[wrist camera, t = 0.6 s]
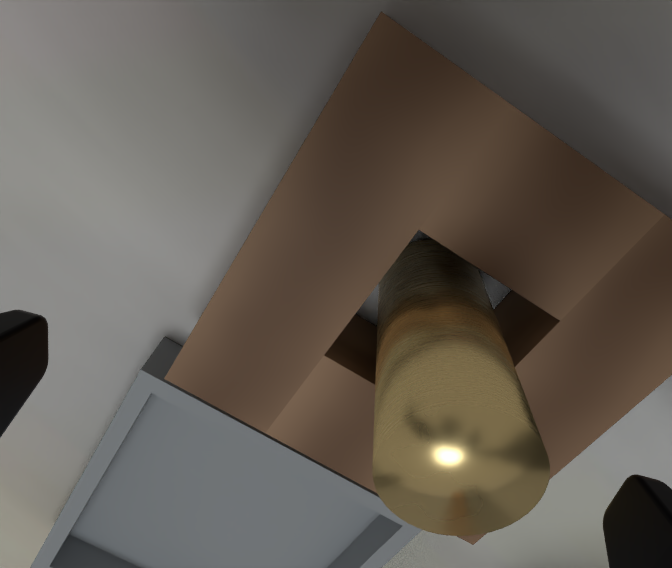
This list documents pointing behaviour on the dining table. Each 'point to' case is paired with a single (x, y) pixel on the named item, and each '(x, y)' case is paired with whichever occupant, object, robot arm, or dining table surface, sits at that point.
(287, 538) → the tray
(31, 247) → the dining table surface
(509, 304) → the hitch block
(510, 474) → the pin
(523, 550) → the dining table surface
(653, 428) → the dining table surface
